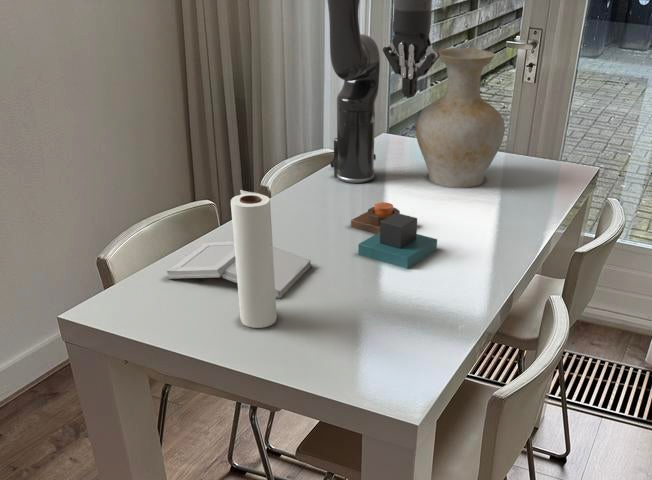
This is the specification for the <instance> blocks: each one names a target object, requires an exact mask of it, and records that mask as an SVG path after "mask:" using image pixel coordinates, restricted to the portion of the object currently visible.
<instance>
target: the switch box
mask: <svg viewBox="0 0 652 480" xmlns="http://www.w3.org/2000/svg"><path fill="white" fill-rule="evenodd" d="M374 212H375V206H372V207H370V208H368V210H367V211H366V212H364V213H362V214H360V215H358V216H356V217H354V218H353V219H350V228H352V229H356V230H360V231H363V232H367V233H371V234H373V235H376V234H377V233H379V232H380V221H382V220H384V219H386V218H388V217H390V216H391V215H377V214H375V213H374ZM395 213H399V214H401V211H400V209H398V208H397V207H394V206H393V214H395ZM393 214H392V215H393Z"/></svg>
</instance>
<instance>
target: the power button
mask: <svg viewBox="0 0 652 480" xmlns="http://www.w3.org/2000/svg"><path fill="white" fill-rule="evenodd" d="M374 207H375V212H374V213H375V214H377V215H392V214H393V207H394V205H393V204H392V203H390V202H377V203H374Z"/></svg>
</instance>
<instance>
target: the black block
mask: <svg viewBox="0 0 652 480" xmlns="http://www.w3.org/2000/svg"><path fill="white" fill-rule="evenodd" d="M417 229H418V217H414V216H410V215H406V214H402V213H400V214H399V213H395V214H393V215H391V216H390V217H388V218H386V219H384V220H382V221H380V243H383V244H386V245H390V246H394V247H397V248H403V247H404V246H406V245H408V244H409V243H411V242H412V241H414V240H416V234H418V233H417V231H418V230H417Z"/></svg>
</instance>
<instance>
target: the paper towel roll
mask: <svg viewBox="0 0 652 480" xmlns="http://www.w3.org/2000/svg"><path fill="white" fill-rule="evenodd" d="M239 191H240V194H237V195H235V196H233V197H232V198H231V199H230V208H231V209H230V210H231V211H230V212H231V222H232V235H233V242H234V247H235V259H236V271H237V283H236V284H237V293H238V305H239V315H240V321H241V323H242V325H244V326H246V327H249V328H252V329H261V328H262V329H263V328H267V327H270V326H272V325H274V324H275V323H276V321H277V318H278V317H277V301H276V299H277V298H276V297H275V279H274V261H273V247H274V246H273V245H274V244H273V243H274V242H273V228H272V209H271V199H270V198H269V196H267V195H264V194H262V193H258V192H253V191H246V190H243V189H240V190H239Z"/></svg>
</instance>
